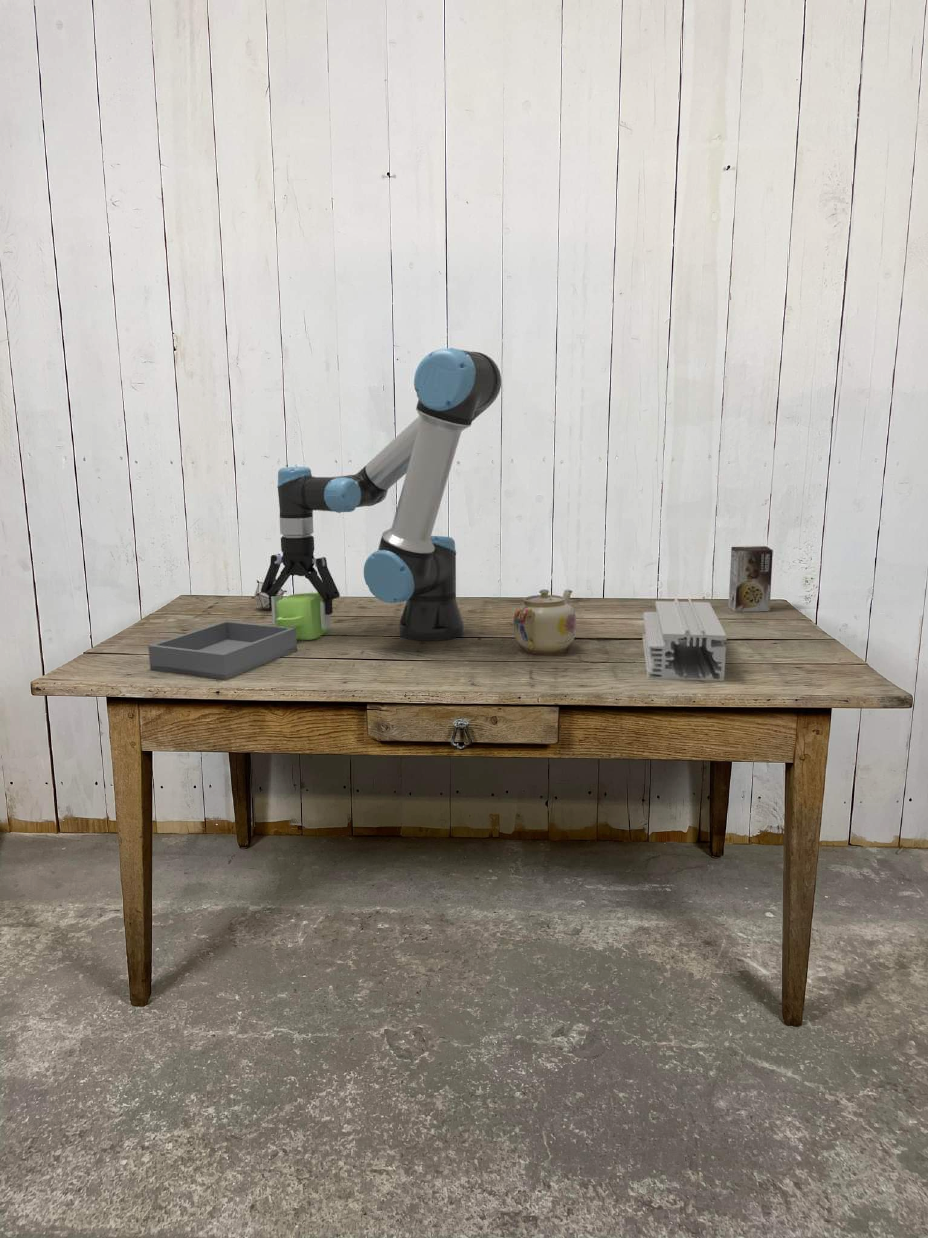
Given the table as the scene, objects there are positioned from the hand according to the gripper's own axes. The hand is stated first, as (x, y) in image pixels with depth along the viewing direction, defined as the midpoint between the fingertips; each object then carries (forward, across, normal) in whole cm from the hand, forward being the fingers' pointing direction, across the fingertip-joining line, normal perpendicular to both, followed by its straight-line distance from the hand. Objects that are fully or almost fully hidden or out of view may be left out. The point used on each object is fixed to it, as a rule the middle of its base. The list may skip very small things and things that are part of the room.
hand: (301, 625), depth 206 cm
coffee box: (+2, -93, -66) cm, 114 cm away
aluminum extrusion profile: (+2, -86, -12) cm, 87 cm away
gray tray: (+2, +2, +25) cm, 25 cm away
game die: (+2, +24, -20) cm, 31 cm away
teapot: (+2, -57, -9) cm, 58 cm away
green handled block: (+2, 0, 0) cm, 2 cm away
